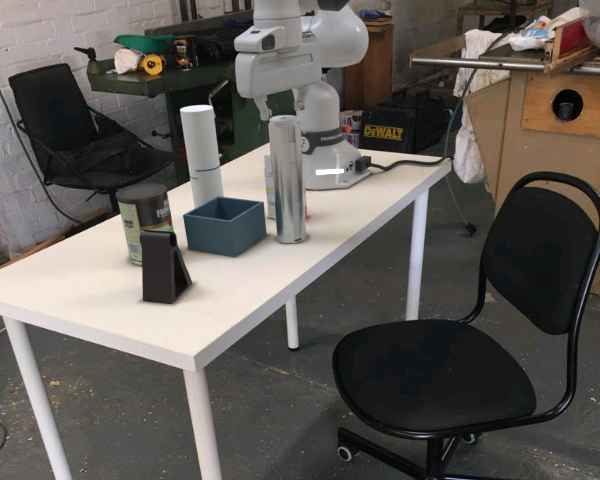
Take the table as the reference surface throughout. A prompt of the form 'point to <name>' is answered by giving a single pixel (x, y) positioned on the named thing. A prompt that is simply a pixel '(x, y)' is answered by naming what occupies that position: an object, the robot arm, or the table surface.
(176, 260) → the phone stand
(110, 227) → the table surface
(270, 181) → the ink cartridge box
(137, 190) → the coffee can
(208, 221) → the case
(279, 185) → the silver tall cylinder
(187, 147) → the cylindrical container
